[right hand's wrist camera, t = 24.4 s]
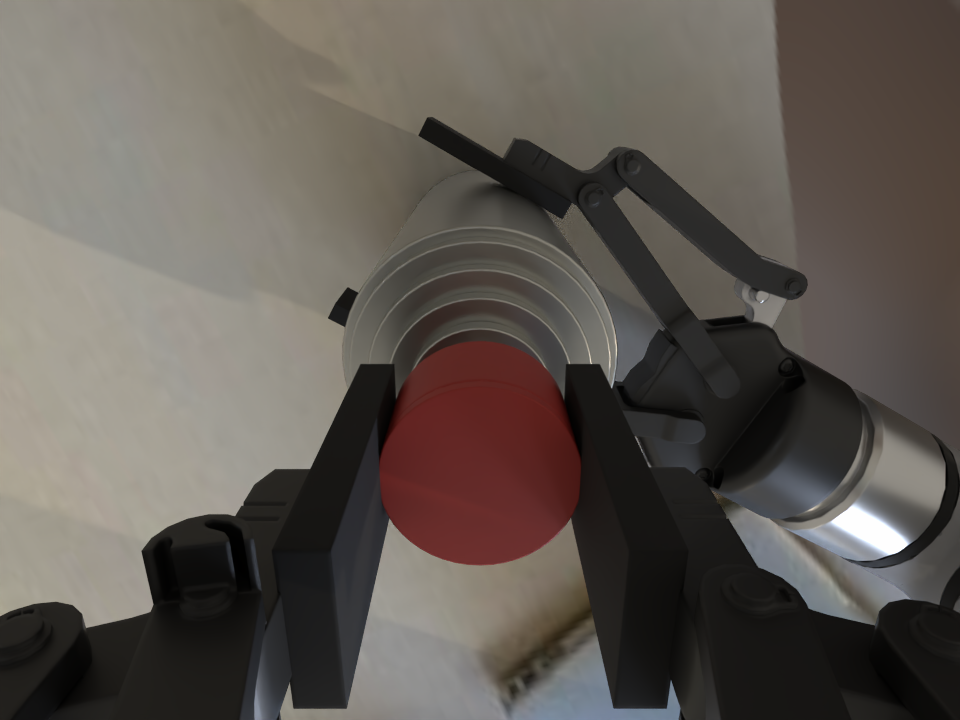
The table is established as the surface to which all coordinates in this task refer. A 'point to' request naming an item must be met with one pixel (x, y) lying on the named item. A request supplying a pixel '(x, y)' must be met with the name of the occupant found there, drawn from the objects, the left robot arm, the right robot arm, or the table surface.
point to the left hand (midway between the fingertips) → (380, 218)
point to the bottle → (479, 286)
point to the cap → (480, 455)
